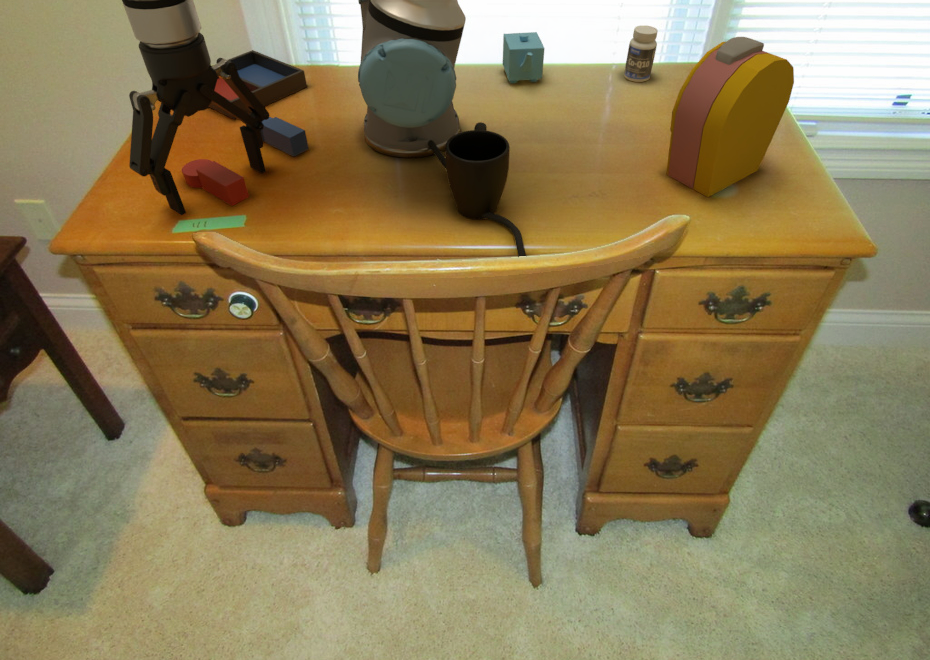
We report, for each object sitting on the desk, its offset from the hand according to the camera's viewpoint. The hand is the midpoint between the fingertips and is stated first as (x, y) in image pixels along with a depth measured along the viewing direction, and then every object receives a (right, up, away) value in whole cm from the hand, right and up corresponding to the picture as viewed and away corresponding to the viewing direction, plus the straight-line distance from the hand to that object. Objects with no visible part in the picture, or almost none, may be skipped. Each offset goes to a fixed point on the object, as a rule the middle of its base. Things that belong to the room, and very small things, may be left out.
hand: (220, 189), depth 91 cm
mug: (+37, -2, -2) cm, 37 cm away
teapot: (+46, +26, +25) cm, 58 cm away
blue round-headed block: (+5, +10, +10) cm, 15 cm away
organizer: (-4, +23, +23) cm, 32 cm away
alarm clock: (+71, +3, +2) cm, 71 cm away
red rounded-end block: (-1, +1, +1) cm, 1 cm away
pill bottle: (+67, +26, +25) cm, 76 cm away
